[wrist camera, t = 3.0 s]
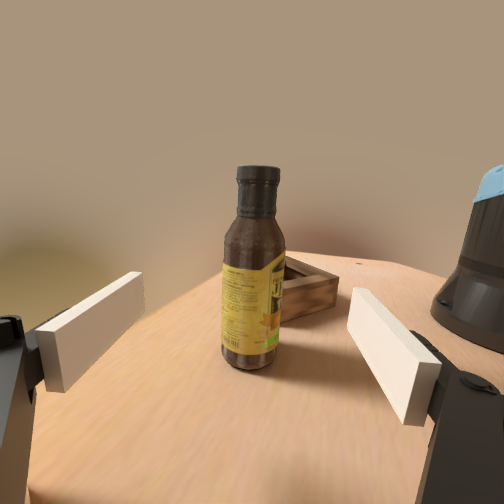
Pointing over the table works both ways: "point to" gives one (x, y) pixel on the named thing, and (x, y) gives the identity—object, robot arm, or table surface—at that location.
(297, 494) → the table surface
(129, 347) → the table surface
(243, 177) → the sauce bottle
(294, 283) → the crate
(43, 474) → the table surface
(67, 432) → the table surface
